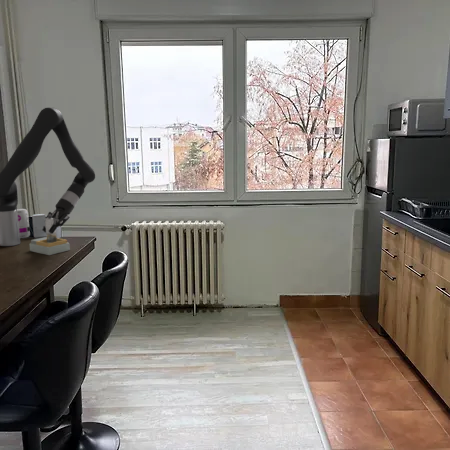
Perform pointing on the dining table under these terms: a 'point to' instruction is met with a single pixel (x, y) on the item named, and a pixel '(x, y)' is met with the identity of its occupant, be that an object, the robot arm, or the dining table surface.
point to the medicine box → (58, 232)
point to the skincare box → (38, 225)
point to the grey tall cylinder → (48, 224)
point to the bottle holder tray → (49, 246)
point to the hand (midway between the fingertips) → (47, 231)
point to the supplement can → (23, 223)
